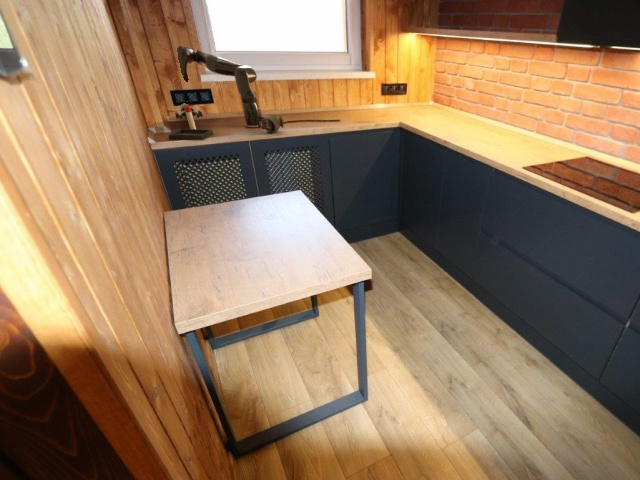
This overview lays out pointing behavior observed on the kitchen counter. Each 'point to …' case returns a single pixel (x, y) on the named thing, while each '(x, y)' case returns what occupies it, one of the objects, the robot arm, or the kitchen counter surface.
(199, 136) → the tray
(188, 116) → the marker
